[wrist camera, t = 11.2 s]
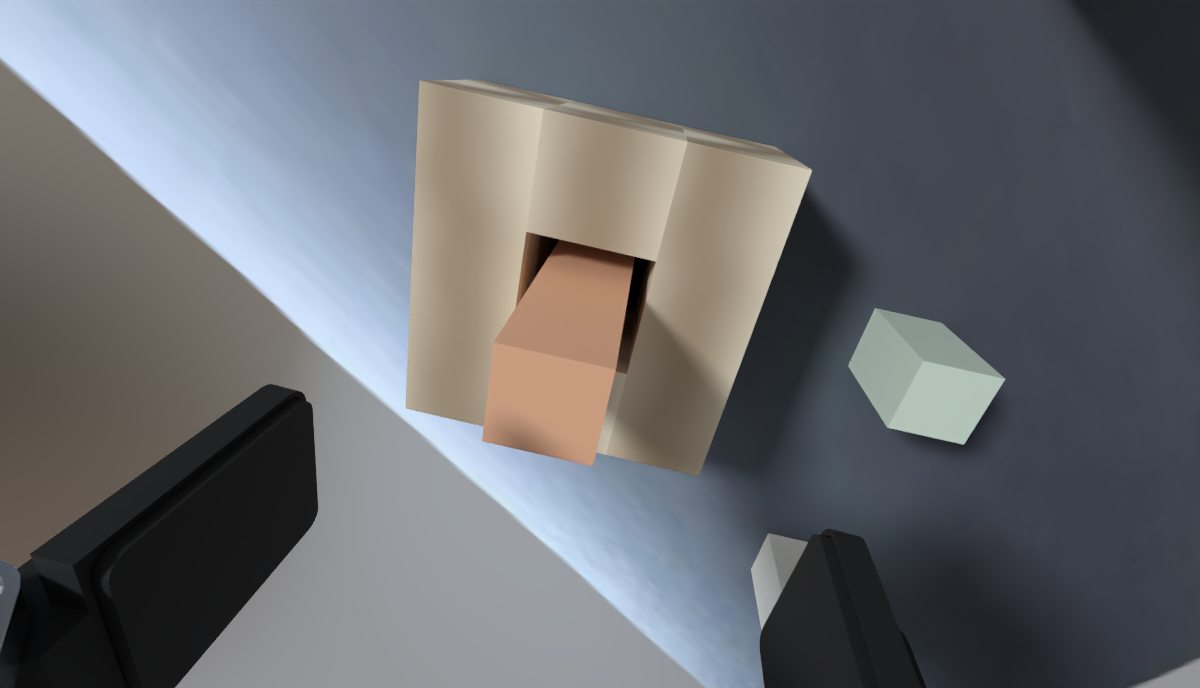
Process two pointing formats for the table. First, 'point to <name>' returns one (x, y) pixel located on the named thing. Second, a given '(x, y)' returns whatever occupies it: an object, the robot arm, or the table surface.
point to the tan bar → (560, 355)
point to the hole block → (602, 220)
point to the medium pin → (774, 570)
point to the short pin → (923, 377)
